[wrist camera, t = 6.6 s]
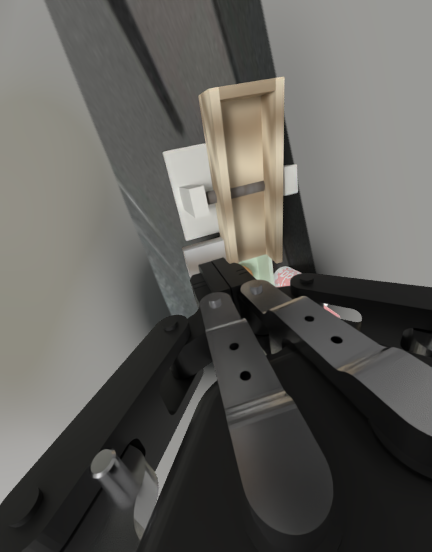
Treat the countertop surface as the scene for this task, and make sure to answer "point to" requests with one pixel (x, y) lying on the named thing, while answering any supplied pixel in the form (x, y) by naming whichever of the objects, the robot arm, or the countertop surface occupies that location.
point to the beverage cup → (283, 279)
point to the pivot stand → (203, 188)
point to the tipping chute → (243, 171)
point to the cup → (260, 268)
